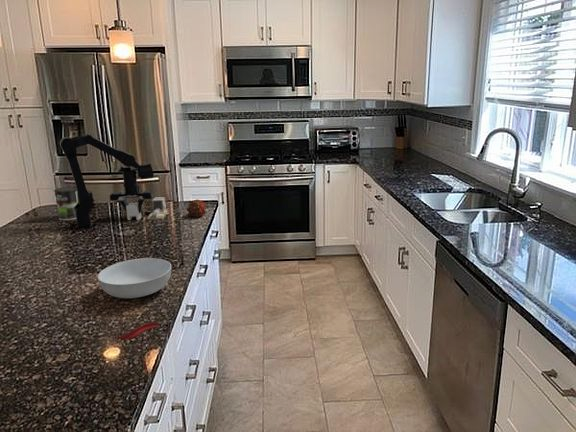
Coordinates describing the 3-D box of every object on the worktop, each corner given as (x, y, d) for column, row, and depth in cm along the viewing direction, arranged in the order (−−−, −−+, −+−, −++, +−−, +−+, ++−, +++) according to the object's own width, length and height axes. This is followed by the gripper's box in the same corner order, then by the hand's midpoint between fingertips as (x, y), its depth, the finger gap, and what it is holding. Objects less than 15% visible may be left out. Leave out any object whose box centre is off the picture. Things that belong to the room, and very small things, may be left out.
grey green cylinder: (71, 221, 219) (67, 191, 215) (53, 219, 222) (49, 190, 218) (86, 215, 228) (82, 187, 225) (69, 214, 231) (65, 186, 227)
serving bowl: (147, 272, 155) (144, 253, 153) (187, 288, 142) (185, 266, 140) (86, 294, 139) (83, 273, 137) (126, 314, 126) (123, 290, 124)
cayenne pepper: (116, 344, 112) (115, 336, 112) (114, 335, 116) (113, 328, 116) (166, 331, 117) (166, 324, 117) (162, 323, 121) (162, 317, 121)
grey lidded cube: (138, 220, 217) (137, 205, 215) (127, 220, 217) (126, 205, 215) (141, 216, 223) (140, 202, 221) (131, 217, 223) (129, 202, 221)
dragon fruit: (198, 222, 216) (194, 220, 227) (212, 210, 217) (207, 208, 229) (186, 209, 213) (182, 207, 224) (200, 196, 215) (195, 195, 226)
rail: (162, 219, 217) (160, 204, 215) (147, 220, 216) (145, 205, 214) (168, 210, 232) (166, 197, 230) (153, 211, 232) (152, 197, 230)
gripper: (154, 176, 223) (157, 208, 227) (114, 178, 222) (118, 210, 226) (149, 181, 212) (153, 214, 217) (107, 182, 211) (111, 216, 215)
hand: (134, 213), depth 219 cm, fingers closed on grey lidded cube, 5 cm apart
